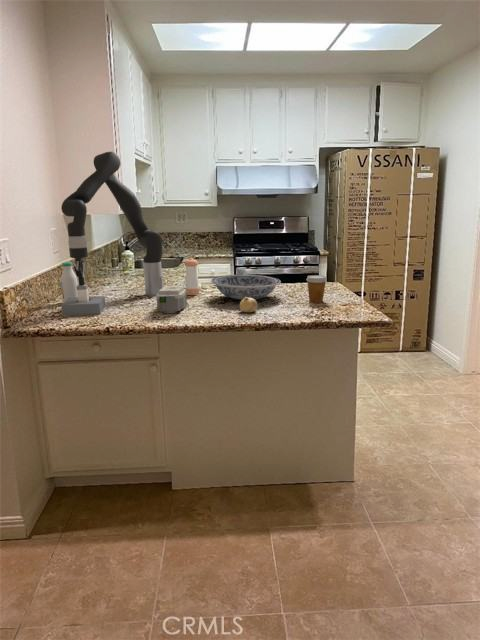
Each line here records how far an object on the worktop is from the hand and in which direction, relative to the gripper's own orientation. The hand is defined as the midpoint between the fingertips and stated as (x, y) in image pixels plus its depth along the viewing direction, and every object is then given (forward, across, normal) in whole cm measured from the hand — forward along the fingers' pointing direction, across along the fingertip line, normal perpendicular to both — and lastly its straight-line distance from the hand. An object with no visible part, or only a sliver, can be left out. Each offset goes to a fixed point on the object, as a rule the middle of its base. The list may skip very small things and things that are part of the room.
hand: (82, 285), depth 206 cm
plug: (+12, 0, 0) cm, 12 cm away
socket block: (+12, 0, 0) cm, 12 cm away
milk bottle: (+12, +20, +10) cm, 25 cm away
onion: (+12, -17, -73) cm, 76 cm away
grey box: (+12, -4, -40) cm, 42 cm away
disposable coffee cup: (+12, -3, -108) cm, 109 cm away
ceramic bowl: (+12, +10, -76) cm, 78 cm away
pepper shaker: (+12, +27, -50) cm, 58 cm away
